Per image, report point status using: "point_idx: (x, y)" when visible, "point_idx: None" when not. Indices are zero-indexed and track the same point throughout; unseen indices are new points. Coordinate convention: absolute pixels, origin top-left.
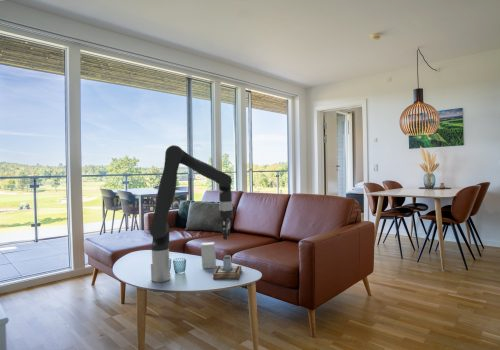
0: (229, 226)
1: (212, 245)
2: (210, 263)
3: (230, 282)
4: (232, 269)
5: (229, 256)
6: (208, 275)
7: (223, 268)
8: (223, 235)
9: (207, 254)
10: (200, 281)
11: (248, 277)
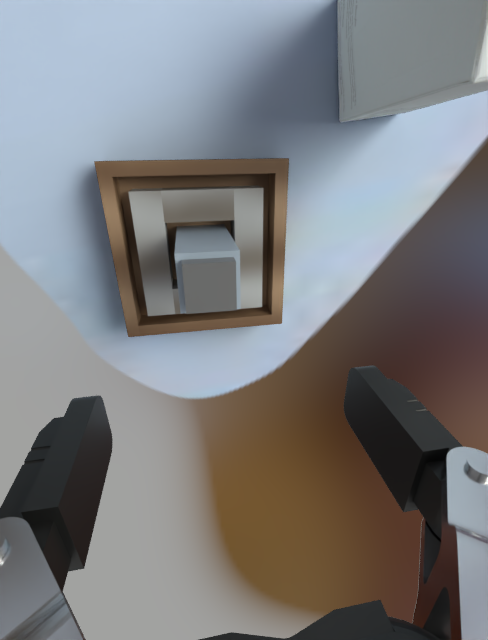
0: (417, 623)
1: (466, 58)
2: (352, 72)
3: (71, 289)
4: None
5: (197, 310)
6: (176, 100)
7: (222, 220)
8: (49, 458)
9: (398, 10)
10: (31, 59)
11: (170, 364)
